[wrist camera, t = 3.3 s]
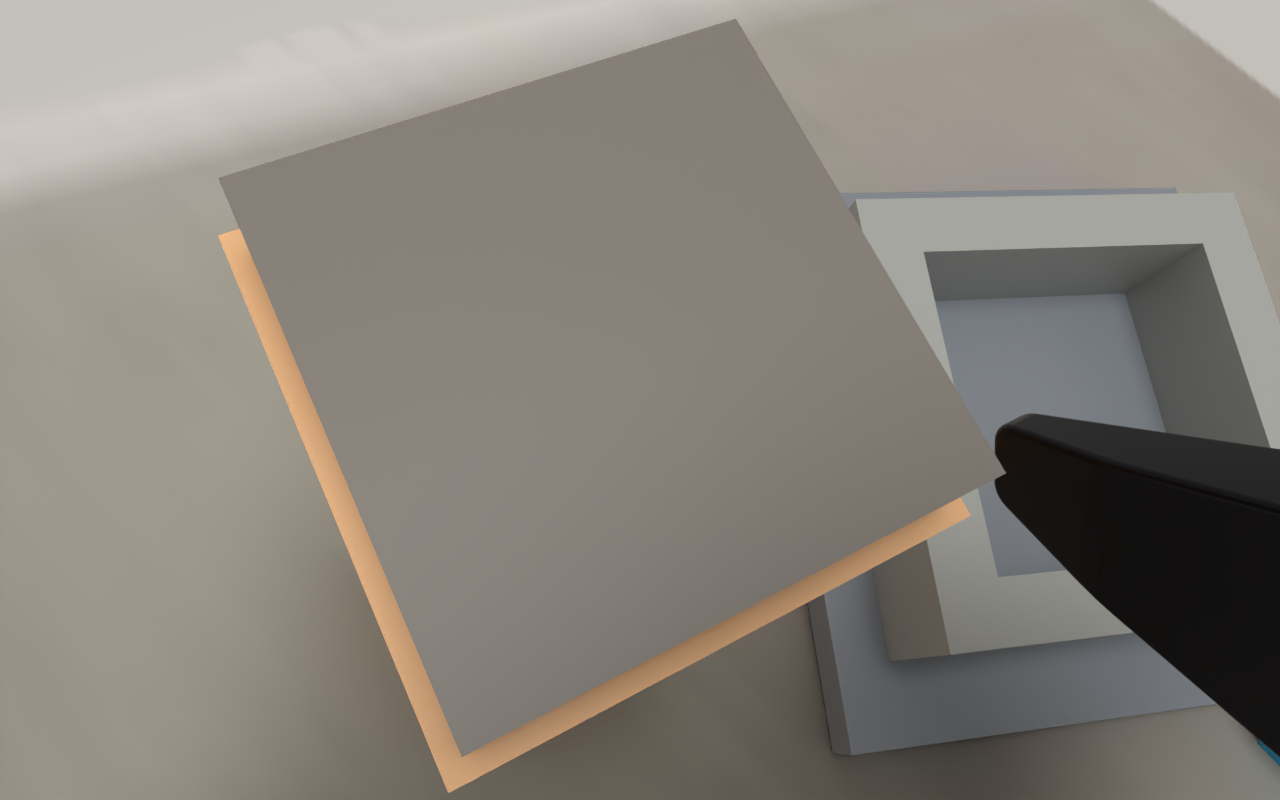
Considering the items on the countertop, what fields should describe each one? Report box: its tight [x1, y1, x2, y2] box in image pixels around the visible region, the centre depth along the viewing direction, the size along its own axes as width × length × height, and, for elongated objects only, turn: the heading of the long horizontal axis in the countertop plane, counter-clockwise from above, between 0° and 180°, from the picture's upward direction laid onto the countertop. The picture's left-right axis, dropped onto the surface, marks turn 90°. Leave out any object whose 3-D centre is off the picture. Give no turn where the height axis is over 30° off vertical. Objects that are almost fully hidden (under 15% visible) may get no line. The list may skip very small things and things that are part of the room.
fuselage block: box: [218, 19, 1006, 793], centre depth 12 cm, size 4×4×13 cm
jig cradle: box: [808, 188, 1280, 756], centre depth 19 cm, size 12×11×4 cm
